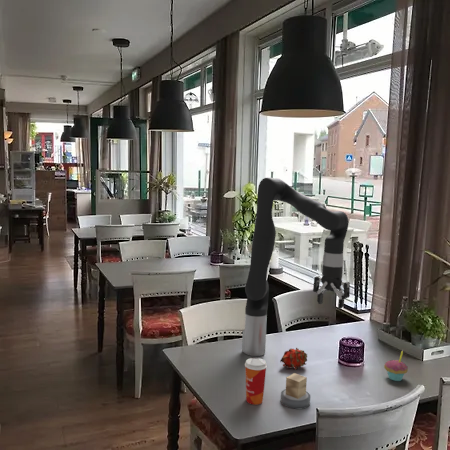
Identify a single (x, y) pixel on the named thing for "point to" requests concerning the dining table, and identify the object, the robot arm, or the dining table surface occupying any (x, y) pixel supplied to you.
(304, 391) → the oak block
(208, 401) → the dining table surface
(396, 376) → the cupcake
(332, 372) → the dining table surface
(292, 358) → the dragon fruit
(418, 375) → the dining table surface
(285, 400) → the pedestal
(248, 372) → the paper cup
